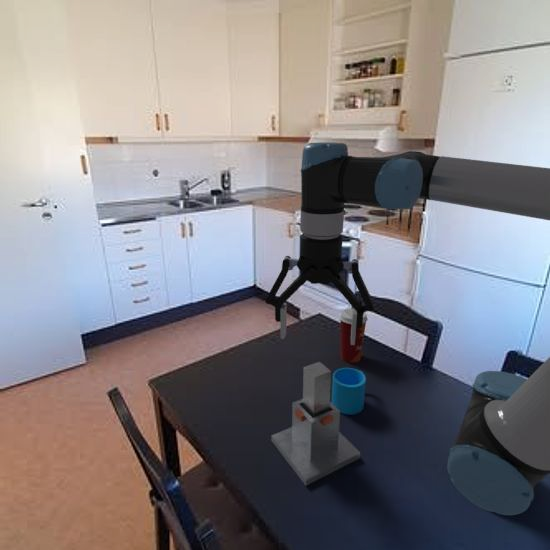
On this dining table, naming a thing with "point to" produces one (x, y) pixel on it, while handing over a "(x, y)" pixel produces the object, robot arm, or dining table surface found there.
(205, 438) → the dining table surface
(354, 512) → the dining table surface
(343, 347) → the coffee cup
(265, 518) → the dining table surface
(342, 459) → the stand base
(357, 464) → the dining table surface
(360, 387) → the mug
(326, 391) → the column
